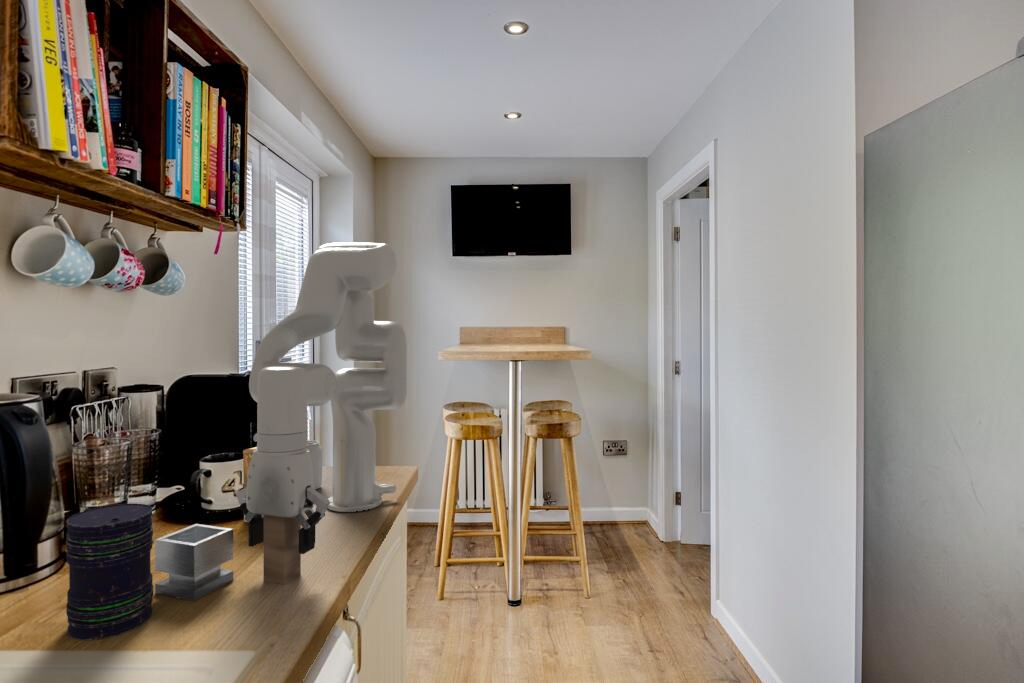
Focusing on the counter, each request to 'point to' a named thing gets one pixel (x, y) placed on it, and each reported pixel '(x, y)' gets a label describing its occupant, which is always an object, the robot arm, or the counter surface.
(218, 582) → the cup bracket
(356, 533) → the counter surface
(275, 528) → the brown tall rectangular block
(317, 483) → the can
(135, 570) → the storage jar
